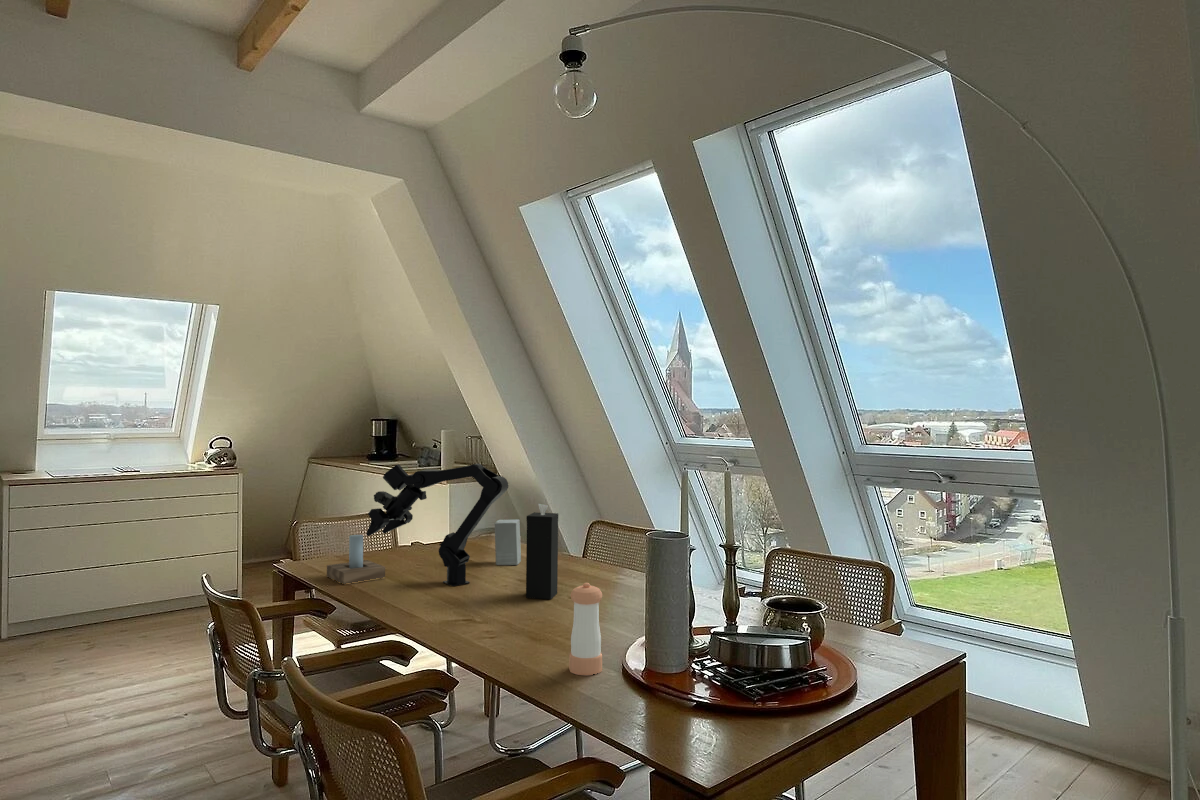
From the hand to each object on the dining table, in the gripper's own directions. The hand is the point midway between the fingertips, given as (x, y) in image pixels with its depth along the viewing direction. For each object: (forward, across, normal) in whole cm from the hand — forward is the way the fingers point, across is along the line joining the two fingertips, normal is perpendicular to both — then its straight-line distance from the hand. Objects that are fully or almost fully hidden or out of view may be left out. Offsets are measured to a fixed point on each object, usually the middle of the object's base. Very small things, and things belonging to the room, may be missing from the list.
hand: (375, 533), depth 257 cm
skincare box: (-12, -37, +32) cm, 50 cm away
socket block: (+15, +1, +6) cm, 16 cm away
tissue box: (-29, +2, +55) cm, 62 cm away
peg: (+15, +1, +6) cm, 16 cm away
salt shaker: (-48, +59, +82) cm, 112 cm away
